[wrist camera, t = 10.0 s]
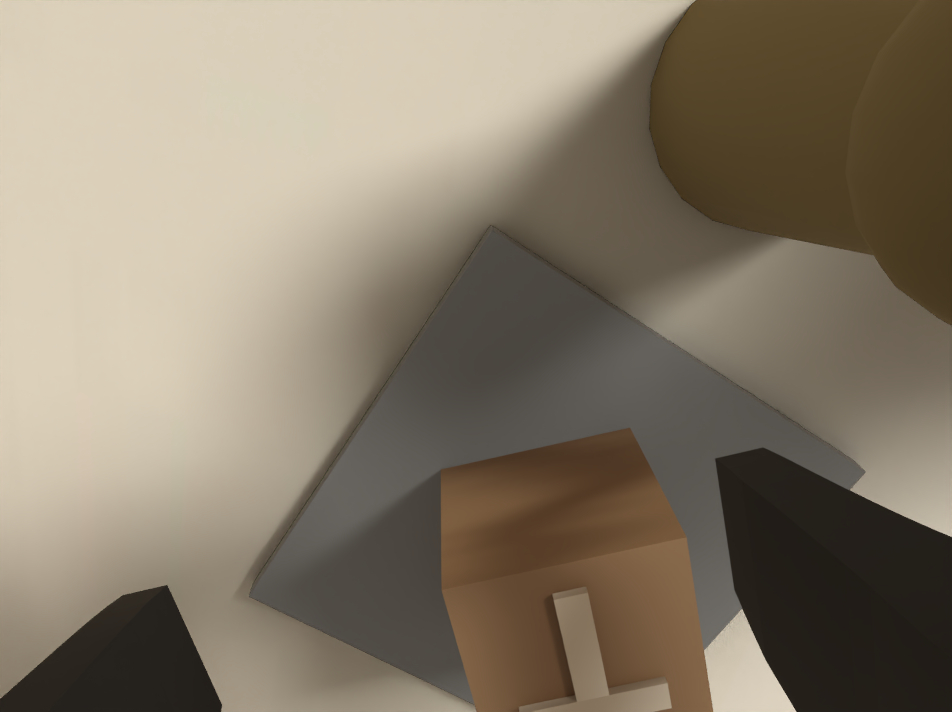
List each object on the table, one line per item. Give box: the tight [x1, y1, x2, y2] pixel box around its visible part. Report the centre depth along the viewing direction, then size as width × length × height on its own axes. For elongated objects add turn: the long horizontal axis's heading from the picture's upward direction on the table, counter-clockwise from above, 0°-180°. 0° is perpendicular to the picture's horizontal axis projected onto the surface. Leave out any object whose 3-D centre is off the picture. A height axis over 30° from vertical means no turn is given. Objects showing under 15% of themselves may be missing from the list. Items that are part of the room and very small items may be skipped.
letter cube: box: [441, 428, 713, 712], centre depth 19 cm, size 5×5×5 cm
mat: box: [249, 225, 865, 705], centre depth 22 cm, size 12×12×1 cm
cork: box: [650, 0, 952, 325], centre depth 13 cm, size 6×6×11 cm
